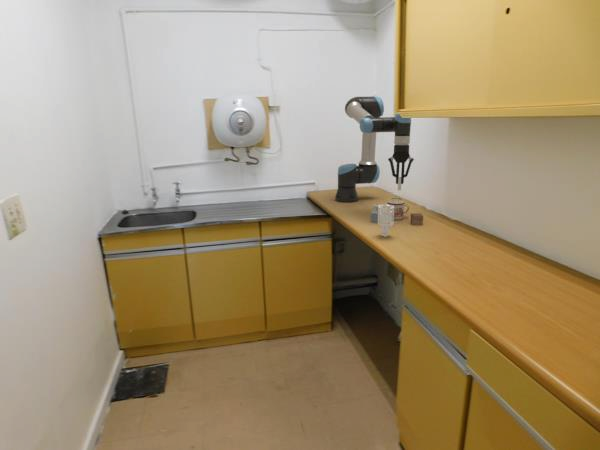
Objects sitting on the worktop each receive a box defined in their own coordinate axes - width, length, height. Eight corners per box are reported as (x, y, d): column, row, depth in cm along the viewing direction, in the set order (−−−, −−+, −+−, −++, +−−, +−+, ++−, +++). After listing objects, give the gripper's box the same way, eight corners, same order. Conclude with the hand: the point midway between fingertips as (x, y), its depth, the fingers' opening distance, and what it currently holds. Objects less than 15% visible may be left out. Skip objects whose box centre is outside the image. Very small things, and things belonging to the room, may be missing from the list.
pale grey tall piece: (379, 238, 168) (380, 206, 163) (375, 233, 174) (376, 202, 170) (394, 237, 168) (396, 205, 164) (390, 233, 175) (391, 202, 171)
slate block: (373, 219, 198) (373, 210, 197) (382, 221, 196) (382, 211, 195) (370, 222, 194) (370, 212, 193) (379, 223, 192) (380, 213, 191)
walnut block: (410, 222, 192) (410, 213, 191) (420, 222, 192) (420, 213, 191) (412, 225, 188) (413, 215, 186) (422, 225, 187) (423, 215, 186)
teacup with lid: (389, 220, 196) (390, 198, 193) (384, 216, 205) (385, 195, 202) (411, 219, 197) (412, 198, 194) (405, 215, 206) (406, 194, 203)
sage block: (372, 213, 212) (372, 204, 211) (380, 212, 213) (381, 204, 212) (375, 215, 207) (376, 206, 206) (384, 214, 208) (384, 206, 207)
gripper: (387, 144, 189) (385, 190, 196) (414, 145, 185) (411, 191, 191) (389, 143, 196) (387, 188, 202) (415, 143, 192) (412, 189, 198)
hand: (399, 189), depth 197 cm, fingers closed
